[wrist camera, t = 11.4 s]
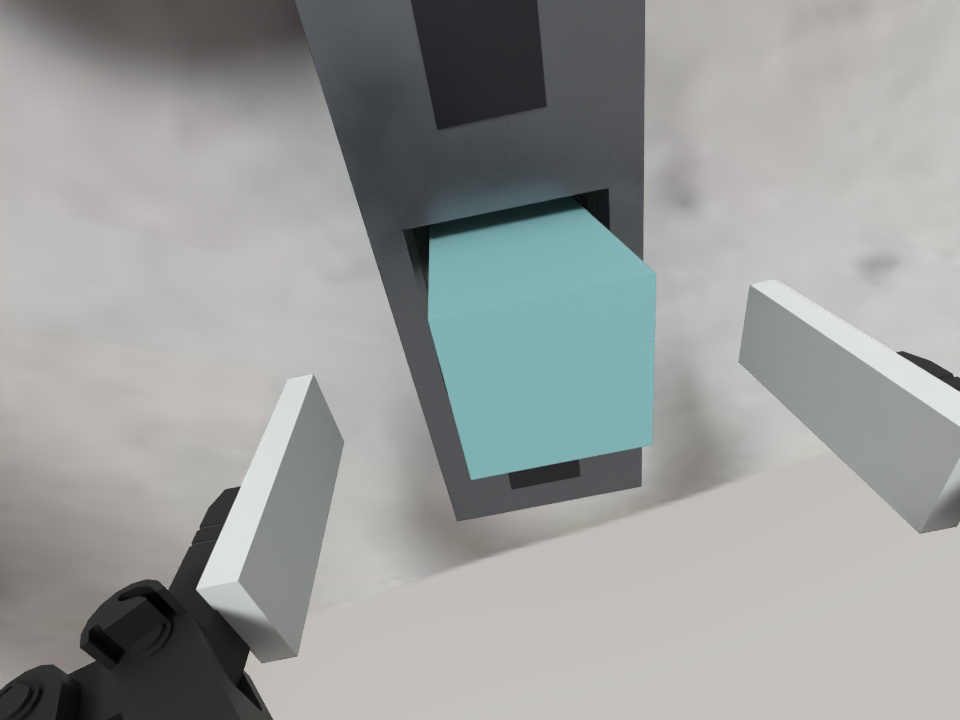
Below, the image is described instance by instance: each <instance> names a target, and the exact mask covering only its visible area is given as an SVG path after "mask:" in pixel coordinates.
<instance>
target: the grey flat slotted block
mask: <svg viewBox="0 0 960 720" xmlns="http://www.w3.org/2000/svg"><path fill="white" fill-rule="evenodd" d="M295 3H296V6H297V9H298V13H299V16H300V19H301V22H302V25H303V29H304V32H305V35H306V38H307V41H308V45H309V48H310V51H311V54H312V57H313V61H314V64H315V67H316V70H317V74H318V77H319V80H320V83H321V86H322V90H323V93H324V96H325V99H326V102H327V106H328V109H329V112H330V115H331V118H332V122H333V125H334V128H335V131H336V134H337V138H338V141H339V144H340V147H341V150H342V154H343V157H344V160H345V163H346V166H347V170H348V173H349V176H350V179H351V182H352V186H353V189H354V192H355V195H356V199H357V202H358V205H359V208H360V211H361V215H362V218H363V221H364V224H365V227H366V231H367V234H368V237H369V240H370V243H371V247H372V250H373V253H374V256H375V259H376V263H377V266H378V269H379V272H380V275H381V279H382V282H383V285H384V288H385V291H386V295H387V298H388V301H389V304H390V307H391V311H392V314H393V317H394V320H395V324H396V327H397V330H398V333H399V336H400V340H401V343H402V346H403V349H404V352H405V356H406V359H407V362H408V365H409V368H410V372H411V375H412V378H413V381H414V384H415V388H416V391H417V394H418V397H419V400H420V404H421V407H422V410H423V413H424V416H425V420H426V423H427V426H428V429H429V432H430V436H431V439H432V442H433V445H434V449H435V452H436V455H437V458H438V461H439V465H440V468H441V471H442V474H443V477H444V481H445V484H446V487H447V490H448V493H449V497H450V500H451V503H452V506H453V509H454V513H455V516H456V519H457V521H462V520H468V519H473V518H478V517H483V516H489V515H494V514H499V513H504V512H510V511H515V510H520V509H525V508H531V507H536V506H541V505H546V504H552V503H557V502H562V501H567V500H573V499H578V498H583V497H588V496H594V495H599V494H604V493H610V492H615V491H620V490H625V489H631V488H636V487H641V482H642V447H639V448H634V449H629V450H623V451H618V452H613V453H608V454H603V455H598V456H592V457H587V458H582V459H577V460H572V461H567V462H562V463H556V464H551V465H546V466H541V467H536V468H531V469H525V470H520V471H515V472H510V473H505V474H500V475H495V476H489V477H484V478H479V479H474V480H471V478H470V474H469V470H468V466H467V463H466V459H465V455H464V452H463V448H462V444H461V440H460V437H459V433H458V429H457V426H456V422H455V418H454V414H453V411H452V407H451V403H450V400H449V396H448V392H447V388H446V385H445V381H444V377H443V374H442V370H441V366H440V362H439V359H438V355H437V351H436V348H435V344H434V340H433V337H432V333H431V329H430V325H429V322H428V290H427V286H426V282H425V278H424V274H423V270H422V267H421V263H420V259H419V255H418V251H417V247H416V244H415V240H414V236H413V232H412V228H416V227H421V226H425V225H430V224H435V223H440V222H445V221H450V220H455V219H460V218H464V217H469V216H474V215H479V214H484V213H489V212H494V211H499V210H503V209H508V208H513V207H518V206H523V205H528V204H533V203H538V202H542V201H547V200H552V199H557V198H562V197H567V196H572V195H576V194H581V193H586V192H587V205H588V212H589V213H590V214H591V215H592V216H593V217H594V218H596V219H597V220H598V221H599V222H600V223H601V224H602V225H603V226H604V227H605V228H607V229H608V230H609V231H610V232H611V233H612V234H613V235H614V236H615V237H617V238H618V239H619V240H620V241H621V242H622V243H623V244H624V245H625V246H627V247H628V248H629V249H630V250H631V251H632V252H633V253H634V254H635V255H636V256H638V257H639V258H640V259H641V260H642V261H643V206H644V68H645V0H295Z"/></svg>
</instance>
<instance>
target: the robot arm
mask: <svg viewBox="0 0 960 720" xmlns="http://www.w3.org/2000/svg"><path fill="white" fill-rule="evenodd" d="M739 363H740V364H741V365H742V366H743V367H744V368H746V369H747V370H748V371H749V372H750V373H751V374H752V375H753V376H754V377H755V378H756V379H757V380H758V381H759V382H760V383H761V384H762V385H763V386H764V387H766V388H767V389H768V390H769V391H770V392H771V393H772V394H773V395H774V396H775V397H776V398H777V399H778V400H779V401H780V402H781V403H782V404H783V405H785V406H786V407H787V408H788V409H789V410H790V411H791V412H792V413H793V414H794V415H795V416H796V417H797V418H798V419H799V420H800V421H801V422H802V423H803V424H805V425H806V426H807V427H808V428H809V429H810V430H811V431H812V432H813V433H814V434H815V435H816V436H817V437H818V438H819V439H820V440H821V441H822V442H823V443H825V444H826V445H827V446H828V447H829V448H830V449H831V450H832V451H833V452H834V453H835V454H836V455H837V456H838V457H840V459H841V460H842V461H844V462H845V463H846V464H847V465H848V466H849V467H850V468H851V469H852V470H853V471H854V472H855V473H856V474H857V475H858V476H859V477H861V479H863V480H864V481H865V482H866V483H867V484H868V485H869V486H870V487H871V488H872V489H873V490H874V491H875V492H876V493H877V494H878V495H879V496H880V497H881V498H883V499H884V500H885V501H886V502H887V503H888V504H889V505H890V506H891V507H892V508H893V509H894V510H895V511H896V512H897V513H898V514H900V516H902V517H903V518H904V519H905V520H906V521H907V522H908V523H909V524H910V525H911V526H912V527H913V528H914V529H915V530H917V532H918V533H920V534H921V533H926V532H931V531H937V530H941V529H947V528H952V527H956V526H957V525H958V524H959V522H960V378H959V377H954V376H953V374H952V373H950V372H949V371H947V370H945V369H944V368H942V367H940V366H938V365H937V364H935V363H933V362H932V361H929V360H926V359H924V358H921V357H918V356H915V355H912V354H909V353H906V352H903V351H901V352H896V353H895V352H894V351H892V350H891V349H889V348H887V347H886V346H884V345H882V344H881V343H879V342H877V341H876V340H874V339H873V338H871V337H869V336H868V335H866V334H864V333H863V332H861V331H859V330H858V329H856V328H855V327H853V326H851V325H850V324H848V323H846V322H845V321H843V320H841V319H840V318H838V317H837V316H835V315H833V314H832V313H830V312H828V311H827V310H825V309H824V308H822V307H820V306H819V305H817V304H815V303H814V302H812V301H810V300H809V299H807V298H806V297H804V296H802V295H801V294H799V293H797V292H796V291H794V290H792V289H791V288H789V287H788V286H786V285H784V284H783V283H781V282H779V281H778V280H776V279H774V280H769V281H765V282H760V283H755V284H750V287H749V294H748V301H747V307H746V314H745V321H744V328H743V335H742V342H741V348H740V355H739ZM343 445H344V440H343V438H342V436H341V434H340V432H339V429H338V427H337V425H336V423H335V421H334V418H333V416H332V414H331V412H330V410H329V407H328V405H327V403H326V401H325V399H324V396H323V394H322V392H321V390H320V387H319V385H318V383H317V381H316V379H315V376H314V374H311V375H306V376H301V377H296V378H291V379H288V381H287V383H286V385H285V388H284V390H283V392H282V394H281V397H280V399H279V401H278V404H277V406H276V408H275V410H274V413H273V415H272V417H271V419H270V422H269V424H268V426H267V429H266V431H265V433H264V435H263V438H262V440H261V442H260V444H259V447H258V449H257V451H256V454H255V456H254V458H253V460H252V463H251V465H250V467H249V470H248V472H247V474H246V476H245V479H244V481H243V483H242V485H241V486H240V487H235V488H230V489H225V490H224V491H223V492H222V494H221V495H220V496H219V497H218V498H217V499H216V500H215V501H214V503H213V504H212V505H211V506H210V507H209V508H208V510H207V513H206V515H205V517H204V519H203V521H202V523H201V525H200V530H199V531H197V533H196V535H195V537H194V539H193V541H192V547H189V549H188V551H187V553H186V555H185V557H184V559H183V561H182V563H181V565H180V567H179V570H178V572H177V574H176V576H175V578H174V580H173V582H172V584H171V586H170V588H169V590H167V589H166V588H165V587H164V586H163V585H162V584H161V583H160V582H159V581H158V580H143V581H139V582H136V583H133V584H130V585H129V586H127V587H125V588H123V589H122V590H120V591H118V592H116V593H115V594H114V595H113V596H111V597H110V598H109V599H108V600H107V601H105V602H104V603H103V604H102V605H101V606H100V607H99V608H98V609H97V610H96V612H95V613H94V614H93V615H92V616H91V618H90V619H89V620H88V622H87V624H86V626H85V628H84V630H83V632H82V634H81V640H80V648H81V649H82V650H84V651H85V652H86V653H88V654H89V655H90V656H91V657H93V658H94V659H95V660H97V661H95V662H93V663H91V664H89V665H87V666H85V667H83V668H81V669H79V670H77V671H74V672H72V673H70V674H68V675H67V674H66V673H65V672H63V671H62V670H60V669H59V668H58V667H56V666H55V665H40V666H38V667H36V668H33V669H31V670H28V671H26V672H24V673H23V674H21V675H20V676H18V677H17V678H15V679H14V680H12V681H11V682H9V683H8V684H7V685H6V686H5V687H3V688H2V689H1V690H0V720H273V719H272V717H271V715H270V713H269V711H268V709H267V708H266V706H265V704H264V702H263V700H262V698H261V697H260V695H259V693H258V691H257V689H256V687H255V685H254V684H253V682H252V680H251V678H250V676H249V675H248V674H247V673H246V672H245V671H244V667H245V664H246V661H247V657H248V654H249V651H251V652H252V653H253V654H254V655H255V656H256V657H257V659H258V660H259V661H260V662H261V663H266V662H271V661H276V660H281V659H287V658H291V657H297V656H298V652H299V646H300V642H301V638H302V633H303V629H304V624H305V619H306V615H307V610H308V606H309V601H310V596H311V592H312V587H313V583H314V578H315V573H316V569H317V564H318V560H319V555H320V550H321V546H322V541H323V537H324V532H325V528H326V523H327V518H328V514H329V509H330V505H331V500H332V495H333V491H334V486H335V482H336V477H337V472H338V468H339V463H340V459H341V454H342V449H343Z"/></svg>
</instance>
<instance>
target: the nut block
mask: <svg viewBox="0 0 960 720" xmlns="http://www.w3.org/2000/svg"><path fill="white" fill-rule="evenodd" d="M655 305H656V273H655V272H654V271H653V270H652V269H651V268H650V267H649V266H648V265H646V264H645V263H644V262H643V261H642V260H641V259H640V258H639V257H638V256H636V255H635V254H634V253H633V252H632V251H631V250H630V249H629V248H628V247H627V246H625V245H624V244H623V243H622V242H621V241H620V240H619V239H618V238H617V237H615V236H614V235H613V234H612V233H611V232H610V231H609V230H608V229H607V228H605V227H604V226H603V225H602V224H601V223H600V222H599V221H598V220H597V219H596V218H594V217H593V216H592V215H591V214H590V213H589V212H588V211H587V210H586V209H584V208H583V207H582V206H581V205H580V204H579V203H578V202H577V201H576V200H574V199H573V198H572V197H571V196H567V197H562V198H557V199H552V200H547V201H542V202H538V203H533V204H528V205H523V206H518V207H513V208H508V209H503V210H499V211H494V212H489V213H484V214H479V215H474V216H469V217H464V218H460V219H455V220H450V221H445V222H440V223H435V224H430V240H429V289H428V322H429V325H430V329H431V333H432V337H433V340H434V344H435V348H436V351H437V355H438V359H439V362H440V366H441V370H442V374H443V377H444V381H445V385H446V388H447V392H448V396H449V400H450V403H451V407H452V411H453V414H454V418H455V422H456V426H457V429H458V433H459V437H460V440H461V444H462V448H463V452H464V455H465V459H466V463H467V466H468V470H469V474H470V478H471V480H474V479H479V478H484V477H489V476H495V475H500V474H505V473H510V472H515V471H520V470H525V469H531V468H536V467H541V466H546V465H551V464H556V463H562V462H567V461H572V460H577V459H582V458H587V457H592V456H598V455H603V454H608V453H613V452H618V451H623V450H629V449H634V448H639V447H644V446H649V445H652V439H653V394H654V350H655Z"/></svg>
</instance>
